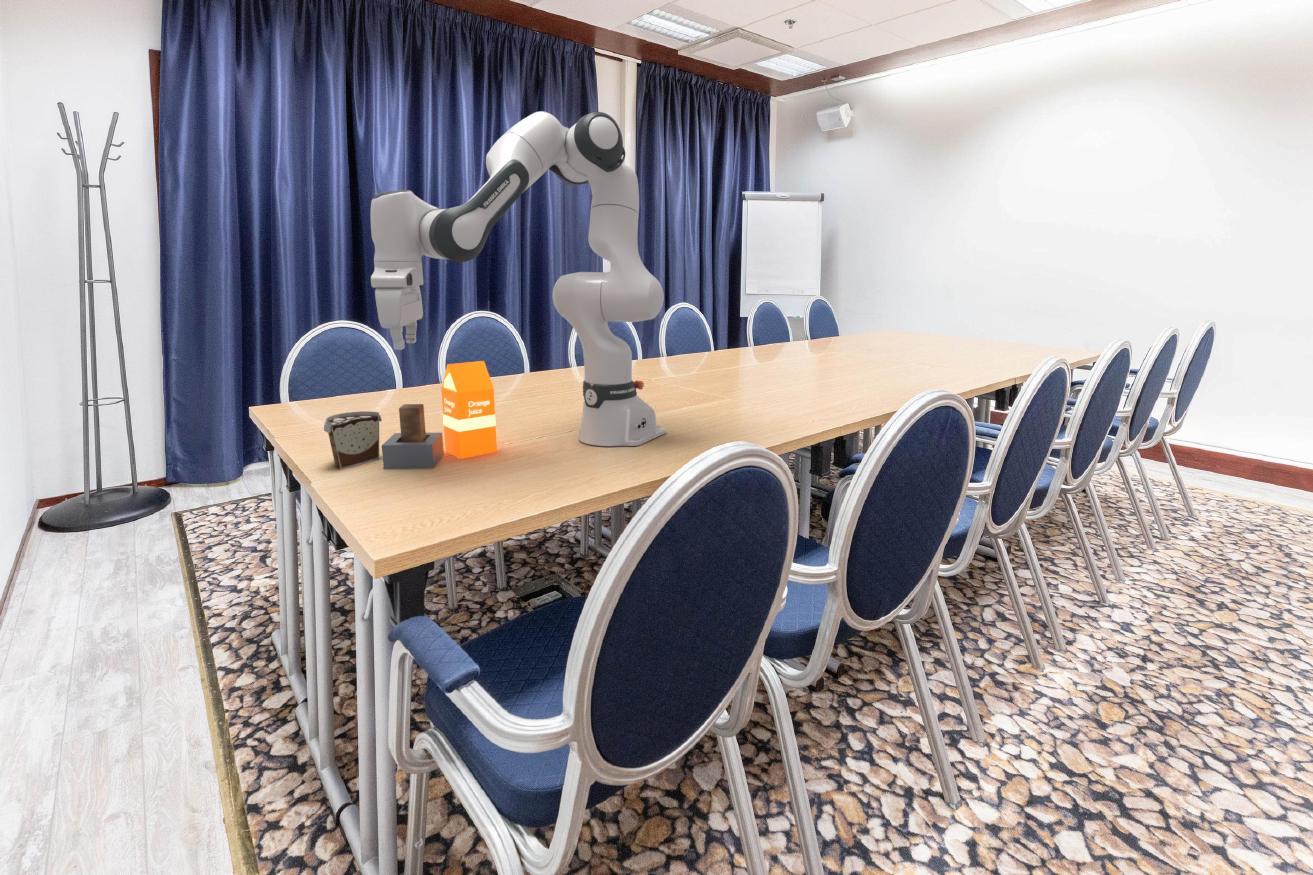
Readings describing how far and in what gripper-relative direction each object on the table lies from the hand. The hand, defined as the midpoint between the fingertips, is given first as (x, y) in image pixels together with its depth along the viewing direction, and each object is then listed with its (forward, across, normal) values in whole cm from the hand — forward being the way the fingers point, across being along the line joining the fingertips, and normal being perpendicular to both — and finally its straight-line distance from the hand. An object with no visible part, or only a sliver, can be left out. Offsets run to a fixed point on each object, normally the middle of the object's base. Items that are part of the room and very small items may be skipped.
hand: (405, 346), depth 140 cm
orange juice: (+25, -7, +10) cm, 28 cm away
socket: (+24, 0, 0) cm, 24 cm away
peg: (+24, 0, 0) cm, 25 cm away
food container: (+25, -1, -13) cm, 28 cm away
